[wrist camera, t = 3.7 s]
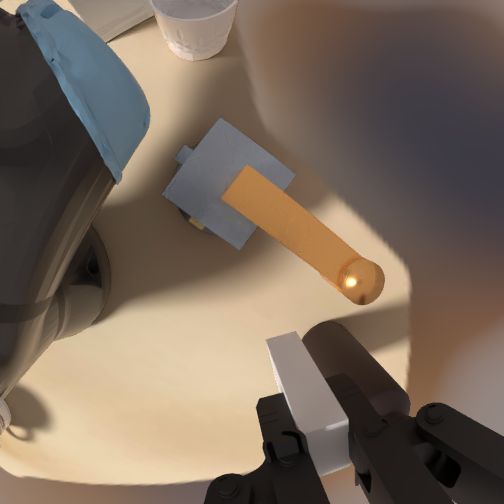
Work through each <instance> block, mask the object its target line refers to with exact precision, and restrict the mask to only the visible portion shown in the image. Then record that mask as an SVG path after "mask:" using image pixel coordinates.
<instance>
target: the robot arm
mask: <svg viewBox="0 0 504 504" xmlns="http://www.w3.org/2000/svg"><path fill="white" fill-rule="evenodd" d="M149 124H150V108H149V105H148V102H147V100H146V96H145V94H144V92H143V90H142V89H141V87H140V85H139V84H138V82H137V81H136V79H135V77H134V76H133V75H132V73H131V72H130V71H129V69H128V68H127V67H126V65H125V64H124V63H123V62H122V61H121V59H120V58H119V57H118V56H117V55H116V54H115V52H114V51H113V50H112V49H111V48H110V47H109V46H108V45H107V44H106V43H105V42H104V41H103V40H102V39H101V38H100V37H99V36H98V35H97V34H96V33H95V32H94V31H93V30H92V29H91V28H90V27H89V26H88V25H87V24H85V23H84V22H83V21H82V20H81V19H79V18H78V17H77V16H76V15H74V14H73V13H71V12H70V11H67V10H63V9H62V8H61V7H60V6H59V5H58V4H56V3H55V2H54V1H53V0H29V1H27V2H26V3H23V4H21V5H20V6H19V7H18V8H17V10H16V14H15V15H13V14H10V13H8V12H7V11H5V10H4V9H2V8H0V408H1V406H2V401H3V400H4V399H5V397H6V396H7V395H8V394H9V392H10V391H11V390H12V389H13V387H14V386H15V385H16V384H17V383H18V381H19V380H20V379H21V378H22V377H23V375H24V374H25V373H26V372H27V371H28V370H29V368H30V367H31V366H32V365H33V364H34V363H35V361H36V360H37V359H38V358H39V357H40V356H41V355H42V353H43V352H44V351H45V350H46V349H47V348H48V347H49V345H50V344H51V343H52V342H53V341H56V340H60V339H63V338H66V337H69V336H73V335H76V334H78V333H80V332H82V331H83V330H85V329H86V328H87V327H88V326H90V325H91V323H92V322H93V321H94V320H95V319H96V318H97V316H98V315H99V314H100V313H101V311H102V309H103V308H104V306H105V303H106V301H107V298H108V294H109V289H110V266H109V261H108V257H107V253H106V250H105V248H104V245H103V243H102V241H101V239H100V237H99V236H98V234H97V232H96V231H95V230H94V228H93V227H92V226H91V223H92V221H93V220H94V218H95V216H96V214H97V213H98V211H99V209H100V208H101V206H102V204H103V203H104V201H105V200H106V198H107V196H108V195H109V193H110V191H111V190H112V188H113V187H114V185H115V184H117V185H118V184H119V182H120V181H121V179H122V171H123V170H124V168H125V166H126V165H127V163H128V161H129V160H130V158H131V156H132V155H133V153H134V152H135V150H136V149H137V147H138V145H139V144H140V142H141V141H142V139H143V138H144V136H145V135H146V133H147V130H148V128H149ZM266 344H267V348H268V352H269V356H270V360H271V364H272V368H273V372H274V376H275V380H276V384H277V387H278V390H279V392H280V393H279V394H275V395H271V396H267V397H264V398H260V399H259V401H258V404H257V406H256V410H257V414H258V419H259V423H260V427H261V432H262V436H263V440H264V442H263V451H264V454H265V457H266V458H265V461H264V462H263V464H262V465H261V466H260V467H259V468H258V469H256V470H254V471H253V472H251V473H249V474H247V475H244V476H242V475H240V474H233V473H231V474H224V475H222V476H219V477H217V478H216V479H215V480H213V481H212V482H211V484H210V486H209V487H208V490H207V494H206V497H205V501H204V504H330V502H329V500H328V497H327V495H326V493H325V490H324V488H323V485H322V483H321V480H320V478H319V477H320V476H322V475H326V474H329V473H331V472H334V471H337V470H340V469H343V468H346V467H348V466H350V459H351V461H352V463H353V465H354V467H355V485H356V486H358V485H359V484H360V485H361V487H362V490H363V491H364V493H365V495H366V497H367V499H368V501H369V503H370V504H454V503H453V501H454V502H456V503H457V504H504V436H502V435H500V434H498V433H496V432H494V431H493V430H491V429H489V428H487V427H485V426H483V425H482V424H480V423H478V422H476V421H474V420H472V419H471V418H469V417H467V416H466V415H463V414H462V413H460V412H458V411H457V410H455V409H453V408H451V407H450V406H448V405H446V404H442V403H430V404H427V405H425V406H423V407H421V409H420V410H419V411H418V412H417V415H416V417H412V418H408V419H403V420H390V419H389V418H388V417H386V416H382V415H379V414H378V412H377V411H376V410H375V408H374V407H373V406H372V404H371V403H370V402H369V400H368V399H367V398H366V396H365V395H364V394H363V392H362V391H361V389H360V388H359V387H358V386H357V384H356V383H355V381H354V380H353V379H352V377H350V376H348V375H346V374H344V373H340V374H337V375H334V376H331V377H328V378H325V379H324V377H323V376H322V374H321V372H320V371H319V369H318V367H317V366H316V364H315V362H314V361H313V359H312V357H311V356H310V354H309V352H308V351H307V349H306V347H305V346H304V344H303V342H302V341H301V339H300V337H299V336H298V334H297V332H296V331H295V332H291V333H288V334H284V335H281V336H277V337H273V338H270V339H266ZM452 500H453V501H452Z"/></svg>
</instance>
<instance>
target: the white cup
mask: <svg viewBox="0 0 504 504" xmlns="http://www.w3.org/2000/svg"><path fill="white" fill-rule="evenodd" d="M238 2H239V0H149V3H150V6H151V8H152V11H153V13H154V15H155V18H156V20H157V23H158V26H159V28H160V30H161V32H162V34H163V36H164V38H165V39H166V41H167V42H168V45H169V47H170V50H171V51H172V52H173V53H174V54H176V55H177V56H178V57H180V58H182V59H187V60H191V61H197V60H204V59H208V58H210V57H212V56H214V55H216V54H217V53H219V52H220V51H221V49H222V48H223V47H224V46H225V44H226V43H227V38H228V34H229V32H230V30H231V27H232V24H233V21H234V18H235V14H236V10H237V6H238Z"/></svg>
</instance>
